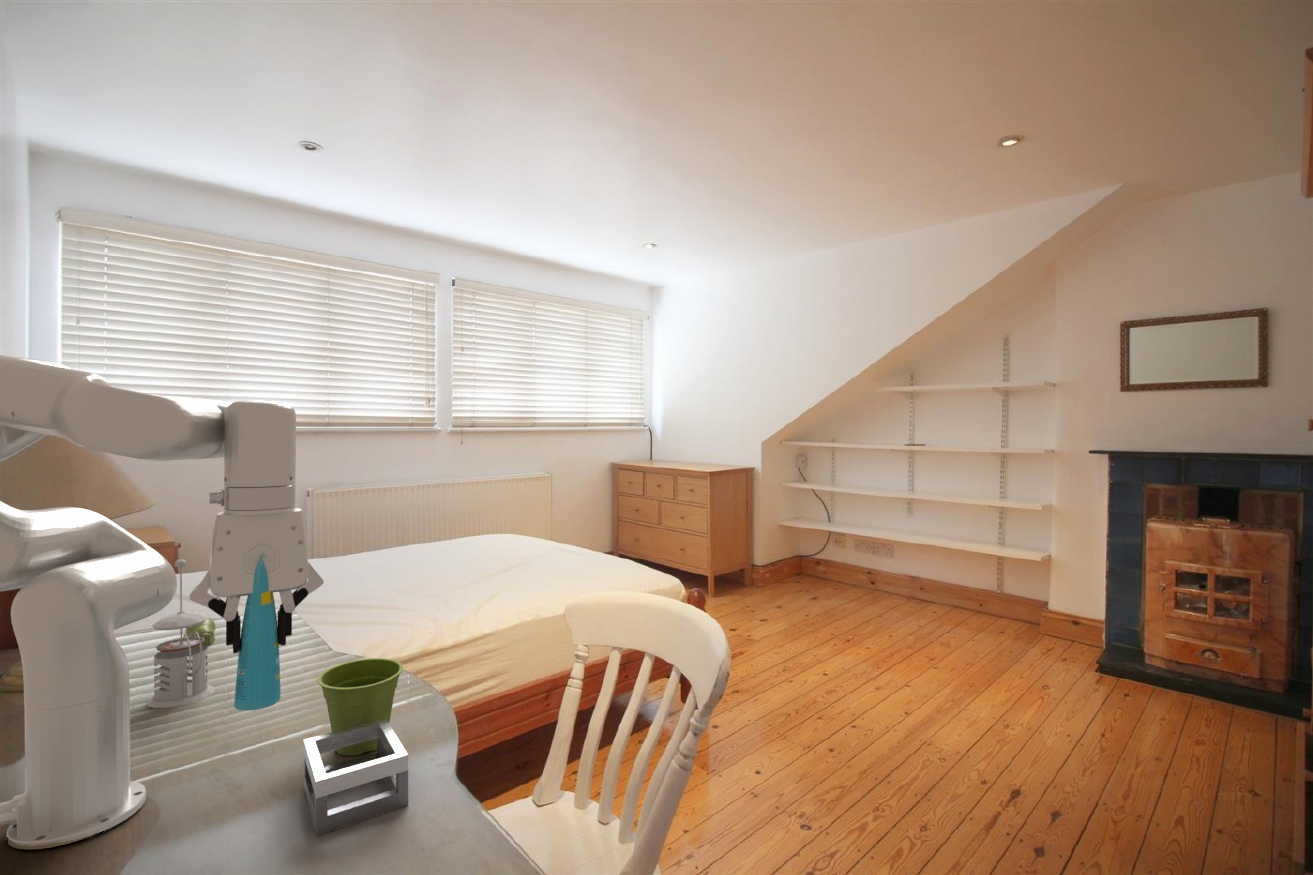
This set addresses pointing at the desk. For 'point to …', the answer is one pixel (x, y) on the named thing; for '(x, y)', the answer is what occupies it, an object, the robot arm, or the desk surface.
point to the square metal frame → (354, 775)
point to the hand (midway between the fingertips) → (259, 644)
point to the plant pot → (360, 695)
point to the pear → (203, 631)
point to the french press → (181, 660)
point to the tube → (258, 649)
